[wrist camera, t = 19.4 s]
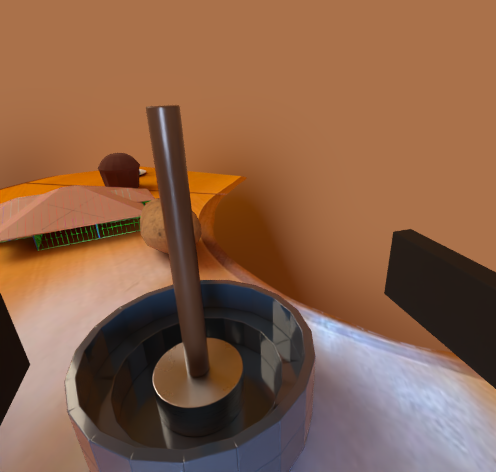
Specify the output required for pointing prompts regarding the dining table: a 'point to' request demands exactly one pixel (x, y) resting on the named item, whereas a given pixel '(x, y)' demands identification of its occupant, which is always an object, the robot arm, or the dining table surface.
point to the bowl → (143, 396)
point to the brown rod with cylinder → (188, 304)
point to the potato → (159, 226)
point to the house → (69, 211)
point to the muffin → (120, 171)
